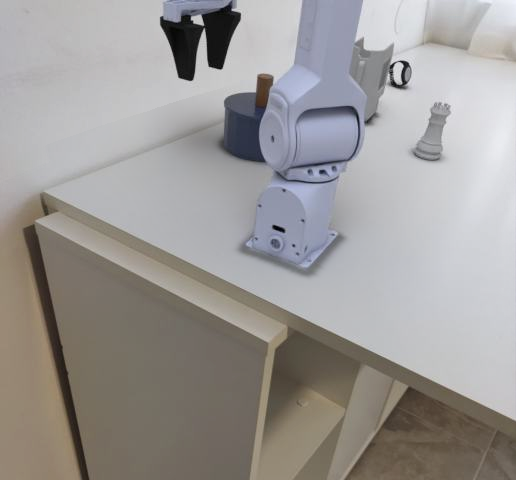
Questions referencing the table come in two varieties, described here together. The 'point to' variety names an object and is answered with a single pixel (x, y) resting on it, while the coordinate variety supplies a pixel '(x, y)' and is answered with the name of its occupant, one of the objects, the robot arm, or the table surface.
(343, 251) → the table surface
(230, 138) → the tin
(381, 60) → the cable organizer
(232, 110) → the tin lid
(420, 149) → the rook chess piece
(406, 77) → the smartwatch
